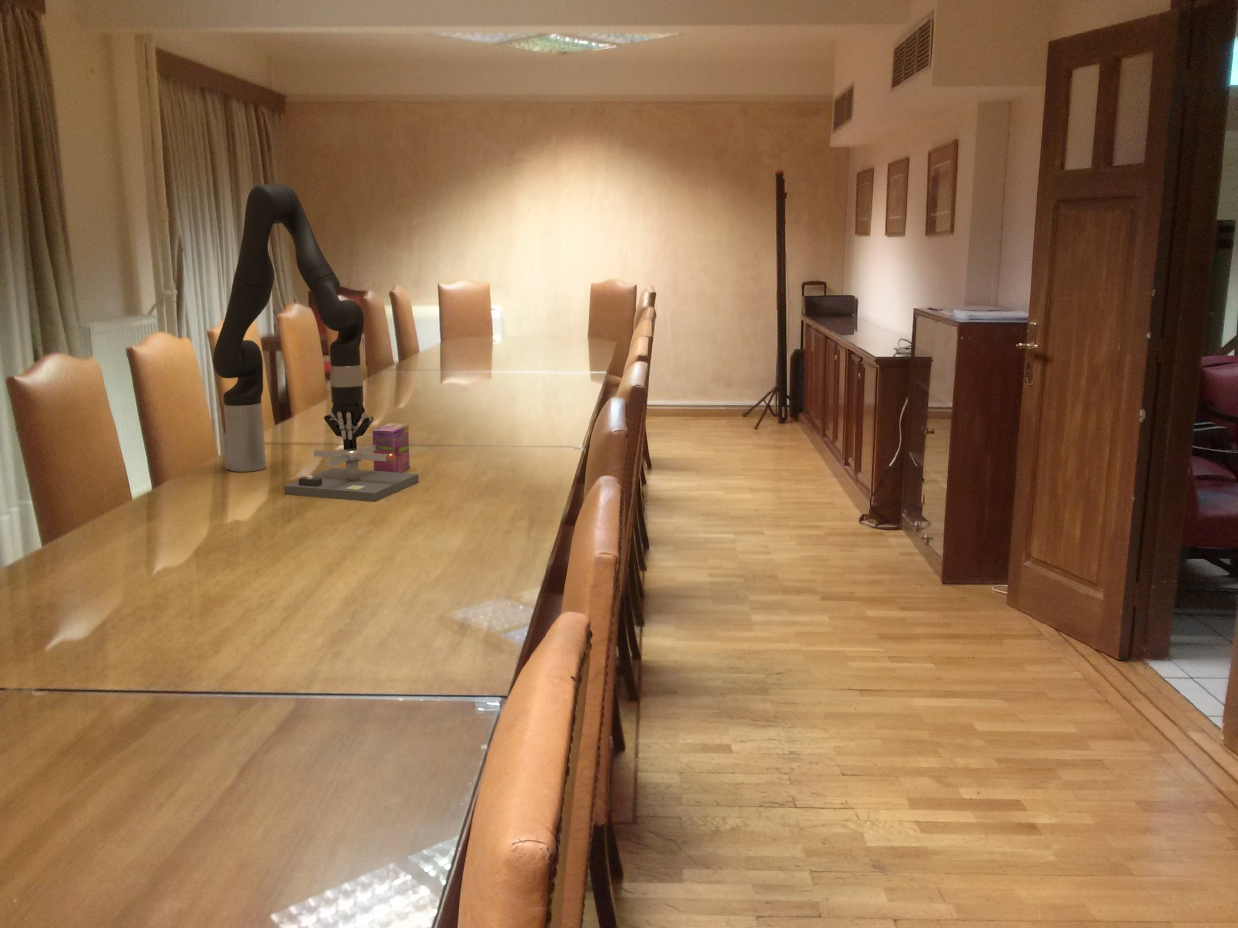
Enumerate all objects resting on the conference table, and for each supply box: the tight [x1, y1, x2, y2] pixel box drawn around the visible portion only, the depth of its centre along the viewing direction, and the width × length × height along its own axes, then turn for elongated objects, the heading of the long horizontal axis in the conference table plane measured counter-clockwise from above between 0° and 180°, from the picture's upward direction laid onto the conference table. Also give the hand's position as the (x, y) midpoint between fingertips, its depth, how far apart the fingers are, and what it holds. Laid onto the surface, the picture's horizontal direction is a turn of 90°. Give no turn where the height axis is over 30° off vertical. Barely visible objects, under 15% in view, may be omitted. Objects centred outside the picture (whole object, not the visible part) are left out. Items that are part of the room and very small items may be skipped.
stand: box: [284, 461, 420, 502], centre depth 260 cm, size 24×21×6 cm
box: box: [372, 422, 411, 473], centre depth 277 cm, size 10×6×12 cm, turn 168°
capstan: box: [313, 444, 396, 468], centre depth 259 cm, size 22×20×2 cm
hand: (350, 453), depth 265 cm, fingers closed
